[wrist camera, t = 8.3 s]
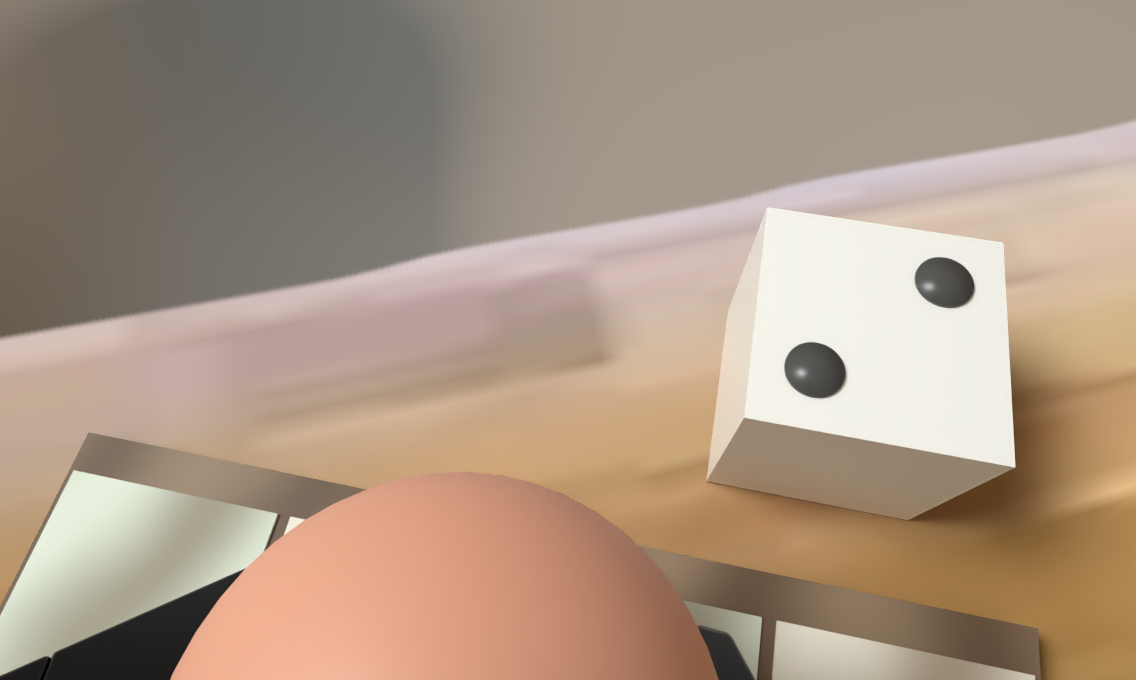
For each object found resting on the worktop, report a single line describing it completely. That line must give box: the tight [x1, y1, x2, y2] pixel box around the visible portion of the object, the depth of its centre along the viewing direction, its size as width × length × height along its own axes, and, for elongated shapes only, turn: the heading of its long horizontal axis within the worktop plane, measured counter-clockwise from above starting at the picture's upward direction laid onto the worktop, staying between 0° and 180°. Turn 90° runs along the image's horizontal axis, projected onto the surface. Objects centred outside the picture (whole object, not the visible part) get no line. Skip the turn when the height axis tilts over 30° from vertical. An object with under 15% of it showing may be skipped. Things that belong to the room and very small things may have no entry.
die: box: [706, 207, 1015, 520], centre depth 20 cm, size 6×6×6 cm
